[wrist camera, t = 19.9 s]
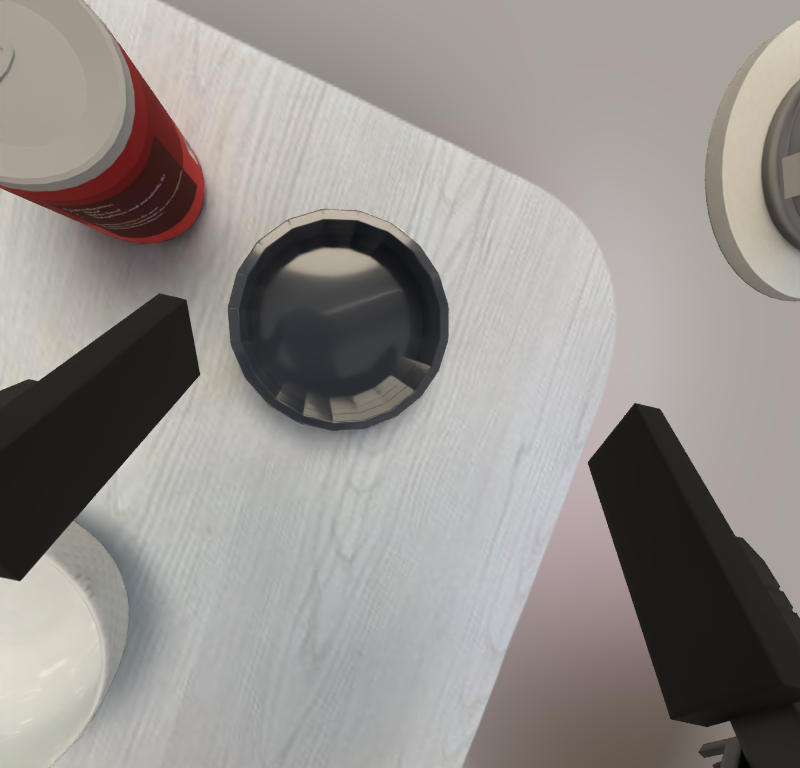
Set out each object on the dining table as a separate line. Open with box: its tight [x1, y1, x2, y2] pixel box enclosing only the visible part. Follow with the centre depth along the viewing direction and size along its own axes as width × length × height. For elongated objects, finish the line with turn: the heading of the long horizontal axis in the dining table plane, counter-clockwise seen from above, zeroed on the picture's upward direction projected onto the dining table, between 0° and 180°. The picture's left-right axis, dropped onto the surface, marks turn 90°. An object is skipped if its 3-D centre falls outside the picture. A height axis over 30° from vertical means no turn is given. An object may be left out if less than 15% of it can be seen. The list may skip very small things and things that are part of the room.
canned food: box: [0, 0, 204, 243], centre depth 19 cm, size 8×8×11 cm
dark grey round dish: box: [228, 209, 449, 431], centre depth 26 cm, size 13×13×4 cm
